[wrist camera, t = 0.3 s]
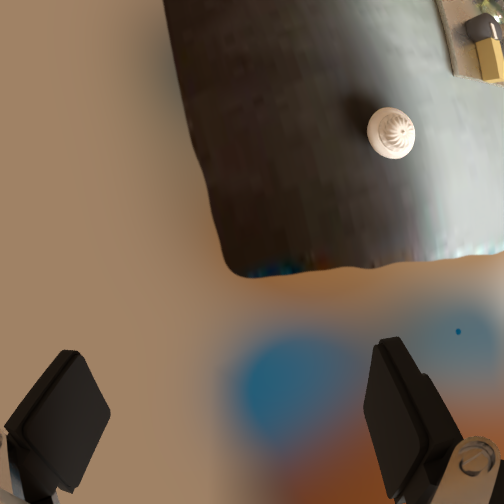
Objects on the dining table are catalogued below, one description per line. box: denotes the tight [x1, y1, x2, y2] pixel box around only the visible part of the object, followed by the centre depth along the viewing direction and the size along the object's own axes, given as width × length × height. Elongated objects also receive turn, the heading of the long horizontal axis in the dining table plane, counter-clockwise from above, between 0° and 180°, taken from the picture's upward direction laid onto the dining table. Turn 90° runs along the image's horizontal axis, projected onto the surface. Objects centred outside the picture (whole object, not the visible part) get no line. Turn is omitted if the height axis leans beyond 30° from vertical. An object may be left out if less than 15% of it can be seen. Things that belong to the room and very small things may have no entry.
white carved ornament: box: [367, 107, 415, 159], centre depth 31 cm, size 6×6×7 cm
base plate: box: [436, 0, 504, 88], centre depth 24 cm, size 22×20×4 cm
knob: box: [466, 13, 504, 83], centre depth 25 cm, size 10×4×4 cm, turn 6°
